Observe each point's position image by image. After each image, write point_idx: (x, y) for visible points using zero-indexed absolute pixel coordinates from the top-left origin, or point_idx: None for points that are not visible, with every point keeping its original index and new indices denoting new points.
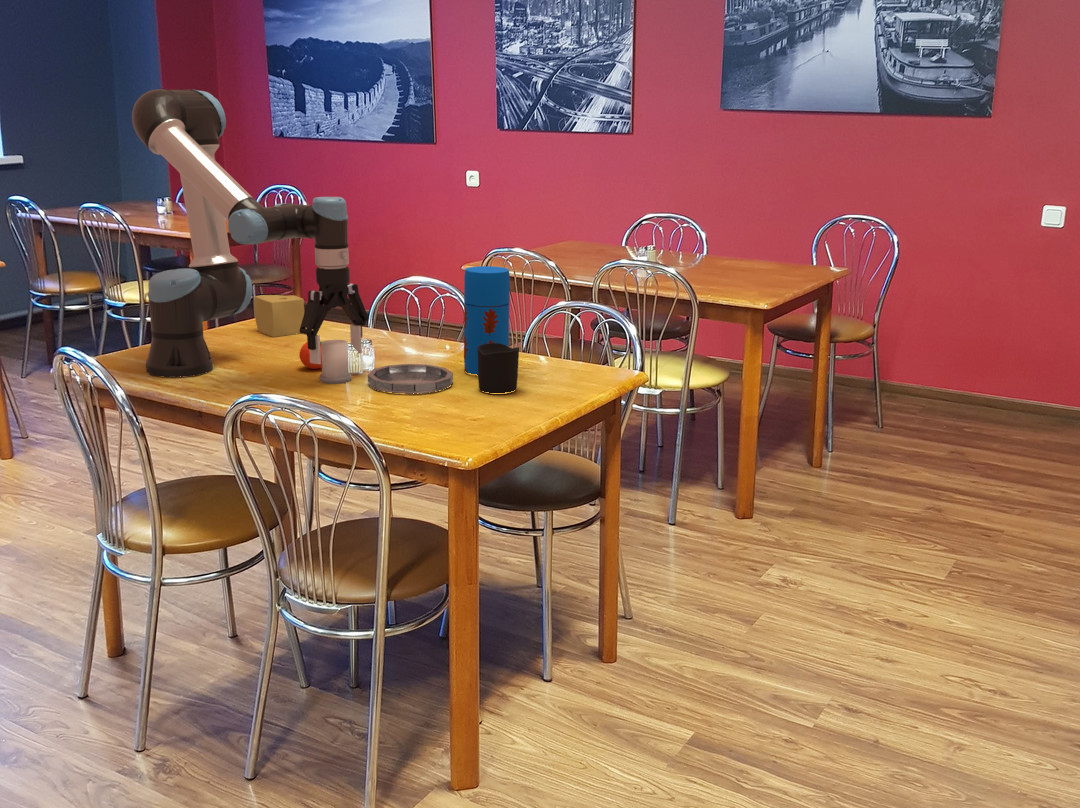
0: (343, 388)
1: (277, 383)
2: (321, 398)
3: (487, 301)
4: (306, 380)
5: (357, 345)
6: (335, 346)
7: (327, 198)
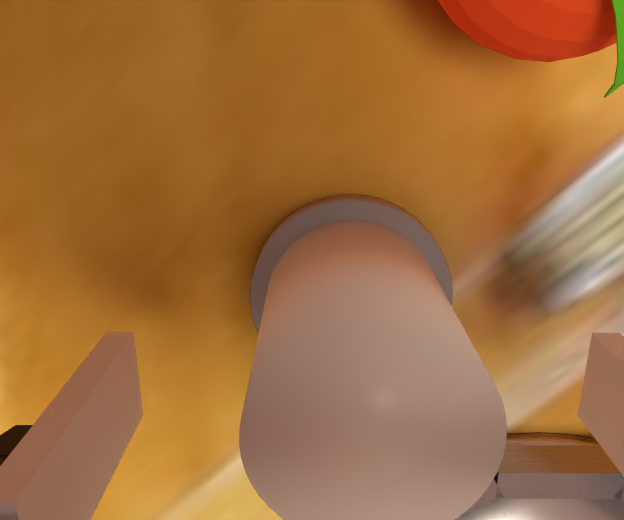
0: None
1: (36, 56)
2: None
3: None
4: (225, 154)
5: (611, 438)
6: (286, 508)
7: None
